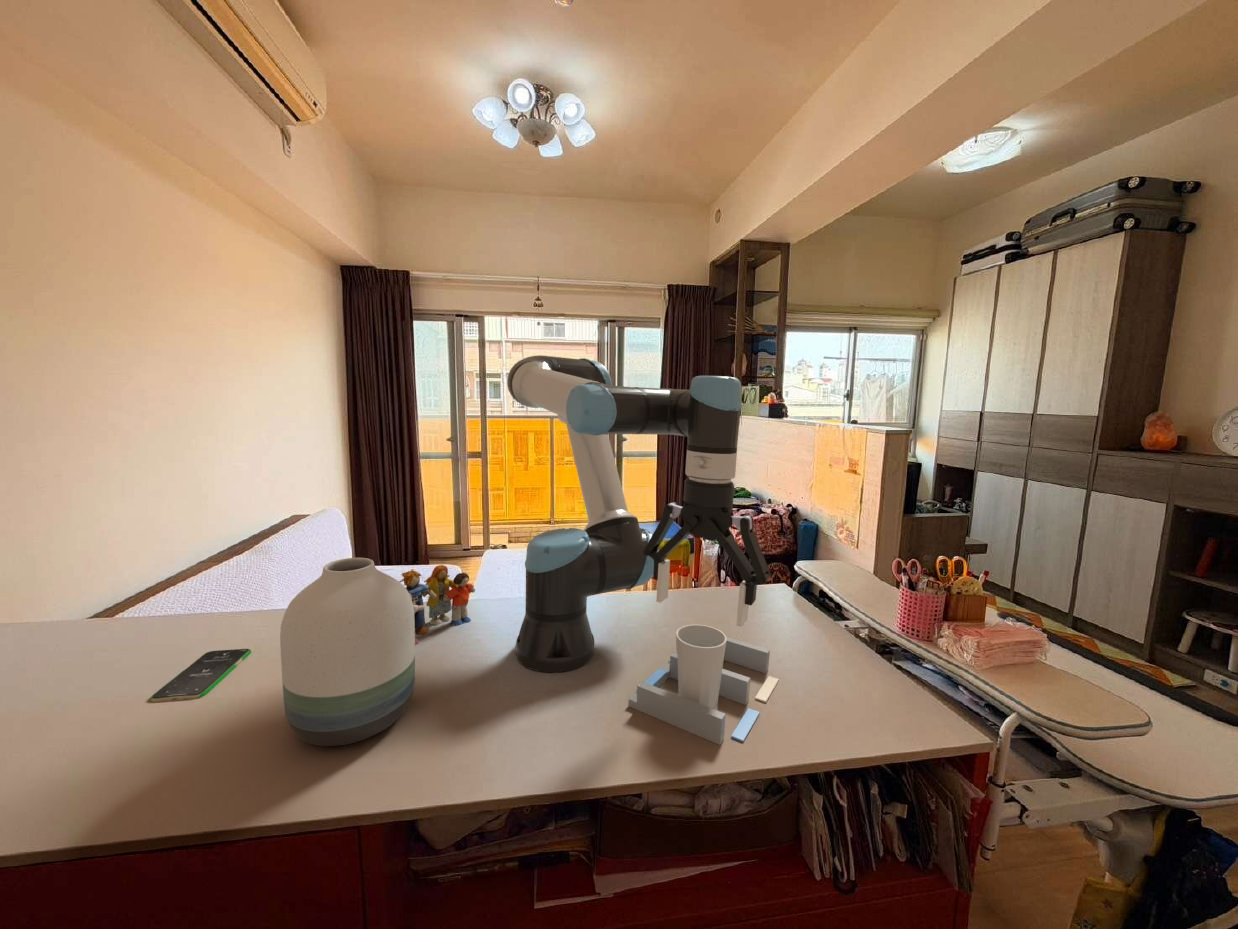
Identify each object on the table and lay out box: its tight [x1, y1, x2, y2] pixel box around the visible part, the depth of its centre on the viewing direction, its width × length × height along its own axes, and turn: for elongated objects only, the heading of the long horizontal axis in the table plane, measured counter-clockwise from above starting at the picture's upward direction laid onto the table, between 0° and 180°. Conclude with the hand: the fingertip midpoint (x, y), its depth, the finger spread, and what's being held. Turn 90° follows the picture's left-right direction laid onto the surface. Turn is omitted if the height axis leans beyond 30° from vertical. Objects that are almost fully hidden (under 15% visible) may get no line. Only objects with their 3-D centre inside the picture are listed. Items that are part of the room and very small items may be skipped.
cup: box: [675, 624, 727, 711], centre depth 77 cm, size 8×8×12 cm
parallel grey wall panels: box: [627, 636, 780, 746], centre depth 83 cm, size 18×24×4 cm
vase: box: [279, 557, 416, 747], centre depth 70 cm, size 17×17×24 cm
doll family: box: [398, 564, 476, 646], centre depth 100 cm, size 21×10×13 cm, turn 148°
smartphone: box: [148, 648, 252, 703], centre depth 82 cm, size 8×1×15 cm
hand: (700, 610), depth 76 cm, fingers open, 13 cm apart
